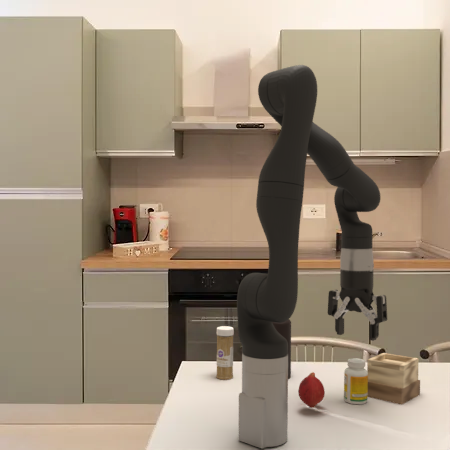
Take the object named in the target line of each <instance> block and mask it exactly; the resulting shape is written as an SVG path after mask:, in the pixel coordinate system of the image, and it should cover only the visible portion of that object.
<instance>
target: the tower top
mask: <svg viewBox="0 0 450 450" xmlns="http://www.w3.org/2000/svg"><path fill="white" fill-rule="evenodd" d="M366 361H367V362H366V363H367V367H366V368H367V369H366V370H367V372H368V382H373V383H378V384H384V385H389V386H394V387H399V388H405V387H407V386H409V385H410V384H412V383H414V382H415V381H417V380H419V358H417V357H412V356H405V355H399V354H393V353H386V352H382V353H380V354H377V355H375V356H373V357H370V358H368V359H367V360H366Z"/></svg>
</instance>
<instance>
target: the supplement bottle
mask: <svg viewBox="0 0 450 450" xmlns="http://www.w3.org/2000/svg"><path fill="white" fill-rule="evenodd" d="M343 374H344V375H343V376H344V377H343V380H344V381H343V400H344V402H345V403H347V404H351V405H365V404H366V403H367V402H368V397H367V395H368V372H367V369H366V360H365V359H362V358H357V357H355V358H354V357H353V358H348V359H347V368H345V370H344V372H343Z"/></svg>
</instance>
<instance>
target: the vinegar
mask: <svg viewBox="0 0 450 450" xmlns="http://www.w3.org/2000/svg"><path fill="white" fill-rule="evenodd" d="M272 323H273V326H274V327H275V329H276V330H277V332H278V333H279V334H281V335H282V336H283V337H284V338H285V339H286V340H287V342H288V380H289V379H290V378H291V377H292V320H291V319H290V318H289V319H288V320H287V321H285V322H282V323H277V322H272Z"/></svg>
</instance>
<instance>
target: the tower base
mask: <svg viewBox="0 0 450 450" xmlns="http://www.w3.org/2000/svg"><path fill="white" fill-rule="evenodd" d="M420 395H421V379H418V380H417V381H415V382H414V383H412V384H410V385H409V386H407V387H405V388H399V387H394V386H389V385H384V384H378V383H373V382H368V395H367V398H372V399H376V400H380V401H384V402H389V403H393V404H397V405H404V404H406V403H408V402H410V401H411V400H413V399H414V398H417V397H418V396H420Z"/></svg>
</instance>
